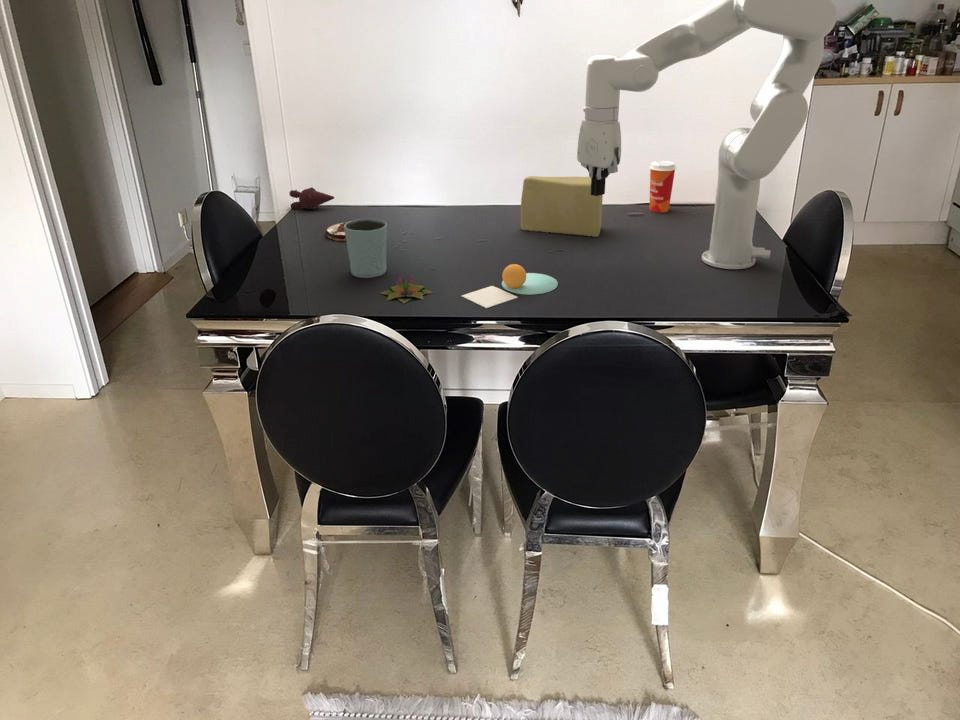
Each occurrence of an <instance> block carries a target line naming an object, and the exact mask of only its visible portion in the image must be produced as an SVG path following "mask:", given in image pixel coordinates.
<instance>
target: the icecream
mask: <svg viewBox="0 0 960 720" xmlns="http://www.w3.org/2000/svg"><path fill="white" fill-rule="evenodd" d="M288 194H289V196H290V197H291V198H295V199H298V201H294V202H292V203H291V204H290V208H291V209H292V210H293V209H294V210H296V209H300V208H302V207H303V208H304V209H307V210H314V211H315V210H316V209H318V207H319V206H321V205H323V204H325V203H328V202H329V201H332V200H334V199H335V196H333V195H330V194H327V193H324V192H320V191H318V190H316V189H315V188H313V187H309V188H305V189H303V190H302V191H298V190H297V189H294V190H292V189H291V190H290V191H289V193H288Z"/></svg>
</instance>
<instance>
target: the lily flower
mask: <svg viewBox="0 0 960 720" xmlns="http://www.w3.org/2000/svg"><path fill="white" fill-rule="evenodd" d="M398 279H399V282H400V283H401V284H400V283H399V282H397V281H396V282H395V283H396V284H397V285H394V286H390V289H389V290H385V291H383V292H379V294H382V295H387V299H386V301H388V300H389V301H390V300H392V299H395V298H397V299H398V301H399V302H401V303H402V304H406V303H407V302H409V301H410V300H412V299H413V298H417V299H421V300H424V299H425V298H424V295H427V294H433V293H435V292H433V291H432V290H429V289H423V288H425V286H424V285H419V284H415V282H413V279H416V277H415V276H414V274H411V276H410V277H409V278H408V280H405V279H404V278H403V276H402V275H400V276H399V277H398ZM412 282H413V283H412ZM409 291H410V292H412V294H411V295H407V297H409V298H406V299H405V300H404V298H402V297H404V295H401V292H404V293H405V295H406V294H408V293H409ZM424 301H425V300H424Z"/></svg>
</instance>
